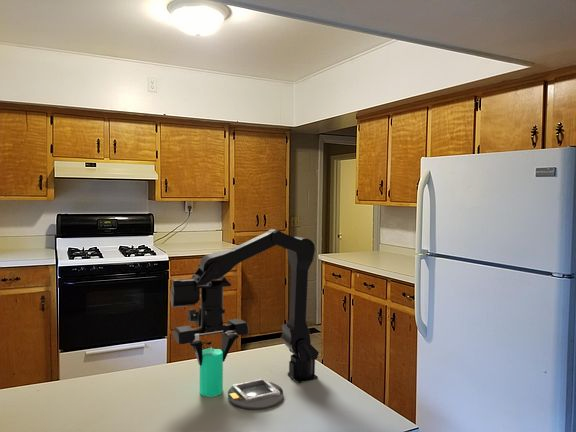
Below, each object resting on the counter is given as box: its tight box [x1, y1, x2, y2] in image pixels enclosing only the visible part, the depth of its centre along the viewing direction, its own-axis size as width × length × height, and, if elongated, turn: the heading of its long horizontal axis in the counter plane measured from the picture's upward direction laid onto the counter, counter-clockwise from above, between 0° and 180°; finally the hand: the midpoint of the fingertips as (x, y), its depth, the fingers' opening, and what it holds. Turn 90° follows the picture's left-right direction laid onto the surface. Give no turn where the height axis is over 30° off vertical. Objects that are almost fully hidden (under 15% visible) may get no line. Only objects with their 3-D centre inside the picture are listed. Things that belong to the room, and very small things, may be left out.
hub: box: [227, 377, 284, 411], centre depth 113 cm, size 14×14×2 cm
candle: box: [199, 345, 224, 397], centre depth 115 cm, size 6×6×12 cm
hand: (211, 363), depth 115 cm, fingers closed on candle, 6 cm apart
